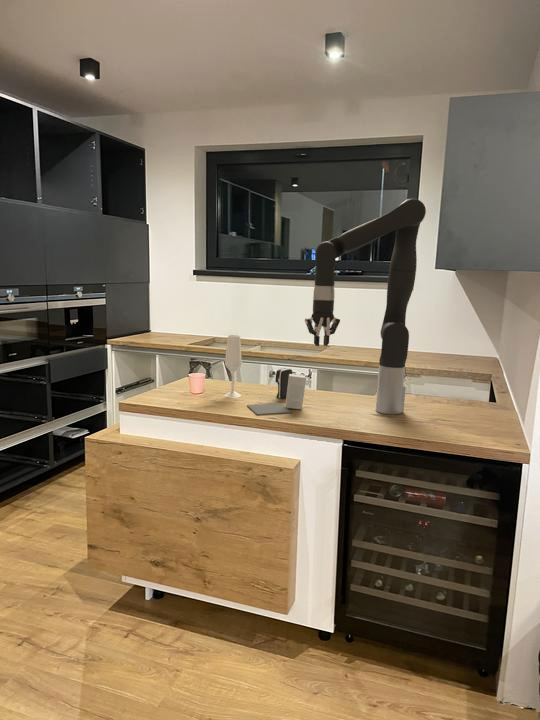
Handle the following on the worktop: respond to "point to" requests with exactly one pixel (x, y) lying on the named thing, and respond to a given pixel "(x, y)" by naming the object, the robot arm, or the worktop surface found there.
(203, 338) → the worktop surface
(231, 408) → the worktop surface
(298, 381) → the skincare box
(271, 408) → the mat
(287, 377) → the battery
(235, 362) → the champagne flute
